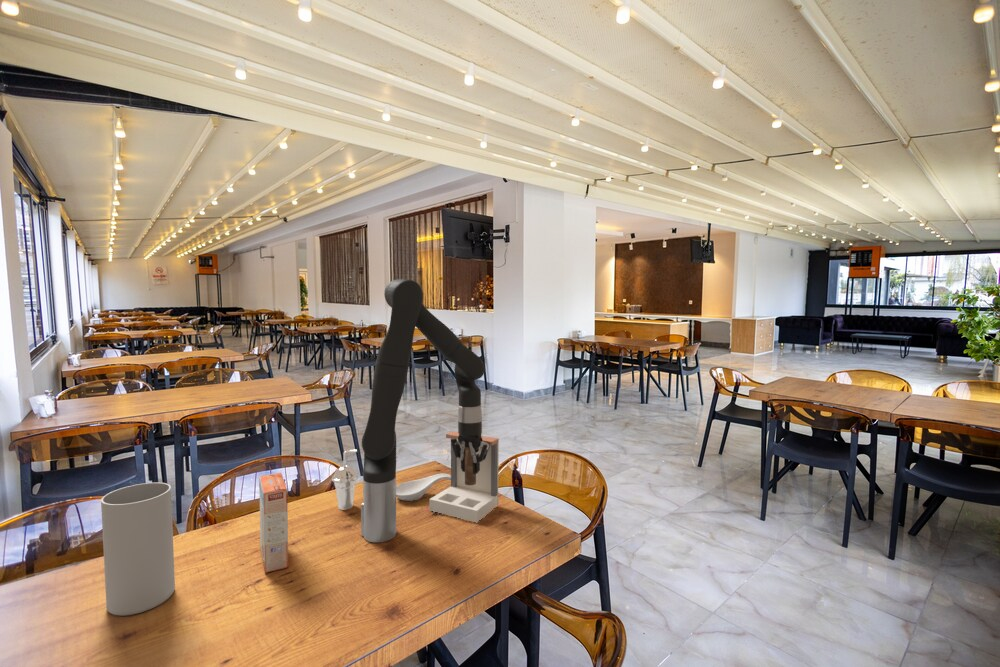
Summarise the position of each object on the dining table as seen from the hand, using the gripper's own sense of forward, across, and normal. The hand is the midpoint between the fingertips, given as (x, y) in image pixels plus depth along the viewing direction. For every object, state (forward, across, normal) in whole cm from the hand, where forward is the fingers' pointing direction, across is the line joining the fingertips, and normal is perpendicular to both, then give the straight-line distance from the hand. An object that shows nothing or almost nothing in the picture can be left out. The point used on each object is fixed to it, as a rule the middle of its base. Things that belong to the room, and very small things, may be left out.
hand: (470, 471), depth 152 cm
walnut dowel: (+4, 0, 0) cm, 4 cm away
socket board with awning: (+14, -4, +3) cm, 15 cm away
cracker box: (+14, -32, -47) cm, 59 cm away
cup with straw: (+14, -39, -15) cm, 44 cm away
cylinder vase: (+14, -43, -73) cm, 86 cm away
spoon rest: (+15, -22, +6) cm, 27 cm away
